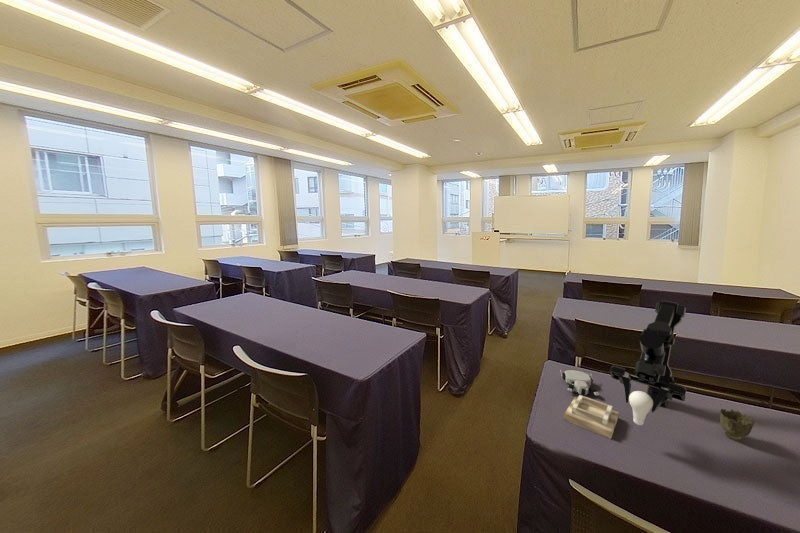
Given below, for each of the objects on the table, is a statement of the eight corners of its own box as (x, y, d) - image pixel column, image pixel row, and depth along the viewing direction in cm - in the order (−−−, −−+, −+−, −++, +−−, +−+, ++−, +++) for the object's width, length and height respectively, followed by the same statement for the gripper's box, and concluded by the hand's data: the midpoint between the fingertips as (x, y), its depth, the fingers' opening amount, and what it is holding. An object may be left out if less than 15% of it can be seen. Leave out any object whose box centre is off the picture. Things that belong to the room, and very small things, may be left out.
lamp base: (574, 402, 118) (575, 390, 117) (618, 418, 109) (619, 405, 108) (563, 420, 108) (565, 407, 107) (610, 439, 98) (612, 425, 98)
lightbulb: (624, 415, 100) (628, 385, 98) (647, 421, 97) (652, 390, 95) (627, 427, 94) (631, 394, 93) (652, 433, 92) (657, 400, 90)
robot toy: (600, 402, 120) (589, 380, 134) (601, 392, 119) (590, 371, 133) (566, 396, 124) (559, 376, 138) (567, 387, 123) (559, 367, 137)
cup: (739, 432, 101) (743, 411, 100) (756, 448, 94) (761, 425, 93) (711, 427, 104) (714, 406, 102) (725, 442, 97) (729, 420, 95)
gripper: (614, 342, 101) (600, 385, 96) (690, 361, 88) (680, 412, 82) (618, 356, 108) (605, 397, 102) (689, 377, 94) (680, 425, 89)
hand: (639, 407), depth 94 cm, fingers closed on lightbulb, 6 cm apart
